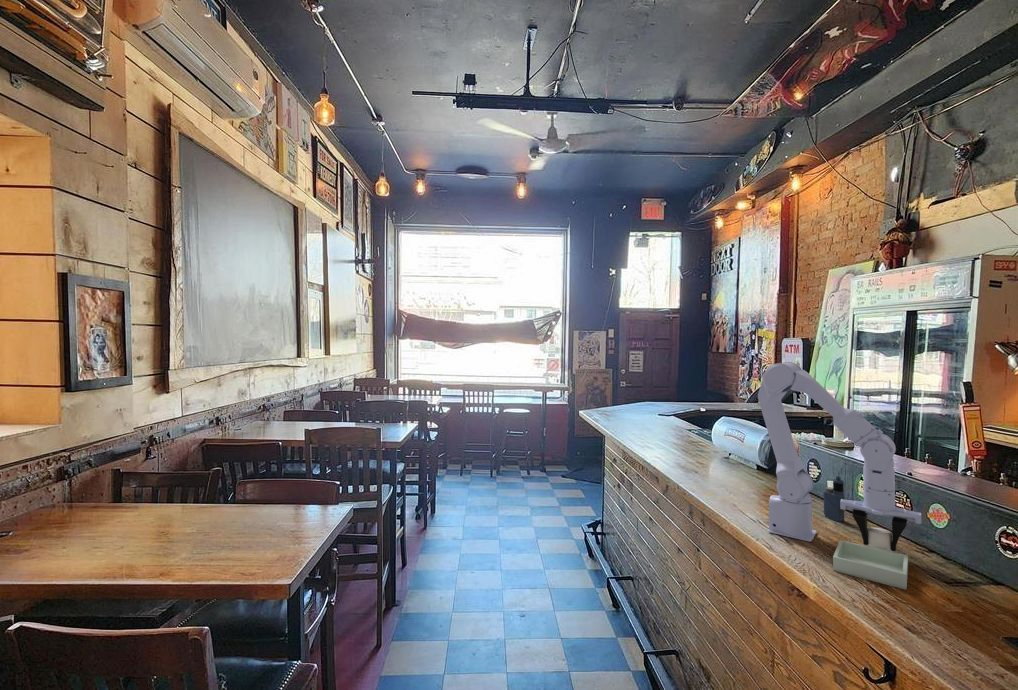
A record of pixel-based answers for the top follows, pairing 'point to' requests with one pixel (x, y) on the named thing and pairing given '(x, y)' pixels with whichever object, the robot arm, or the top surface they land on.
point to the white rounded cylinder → (879, 538)
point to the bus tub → (871, 564)
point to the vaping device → (834, 500)
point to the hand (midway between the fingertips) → (879, 546)
